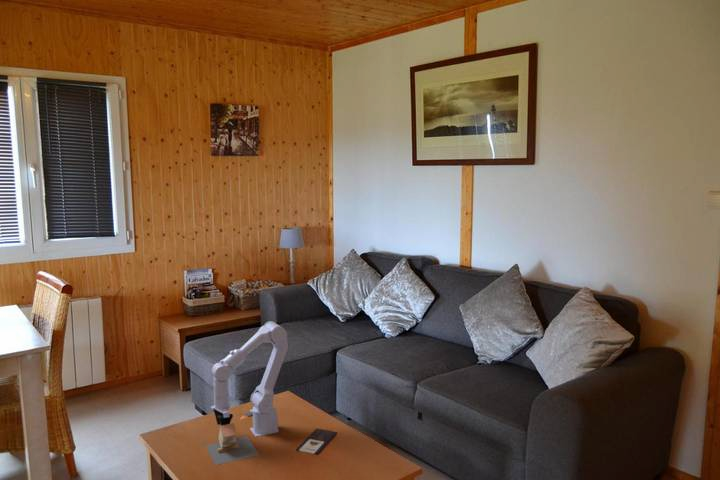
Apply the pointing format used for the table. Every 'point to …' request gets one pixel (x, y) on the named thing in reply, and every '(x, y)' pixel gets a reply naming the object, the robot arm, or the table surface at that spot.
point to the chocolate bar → (316, 441)
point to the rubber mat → (232, 451)
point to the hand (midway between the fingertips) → (222, 428)
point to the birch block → (227, 435)
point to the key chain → (248, 414)
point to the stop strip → (228, 448)
